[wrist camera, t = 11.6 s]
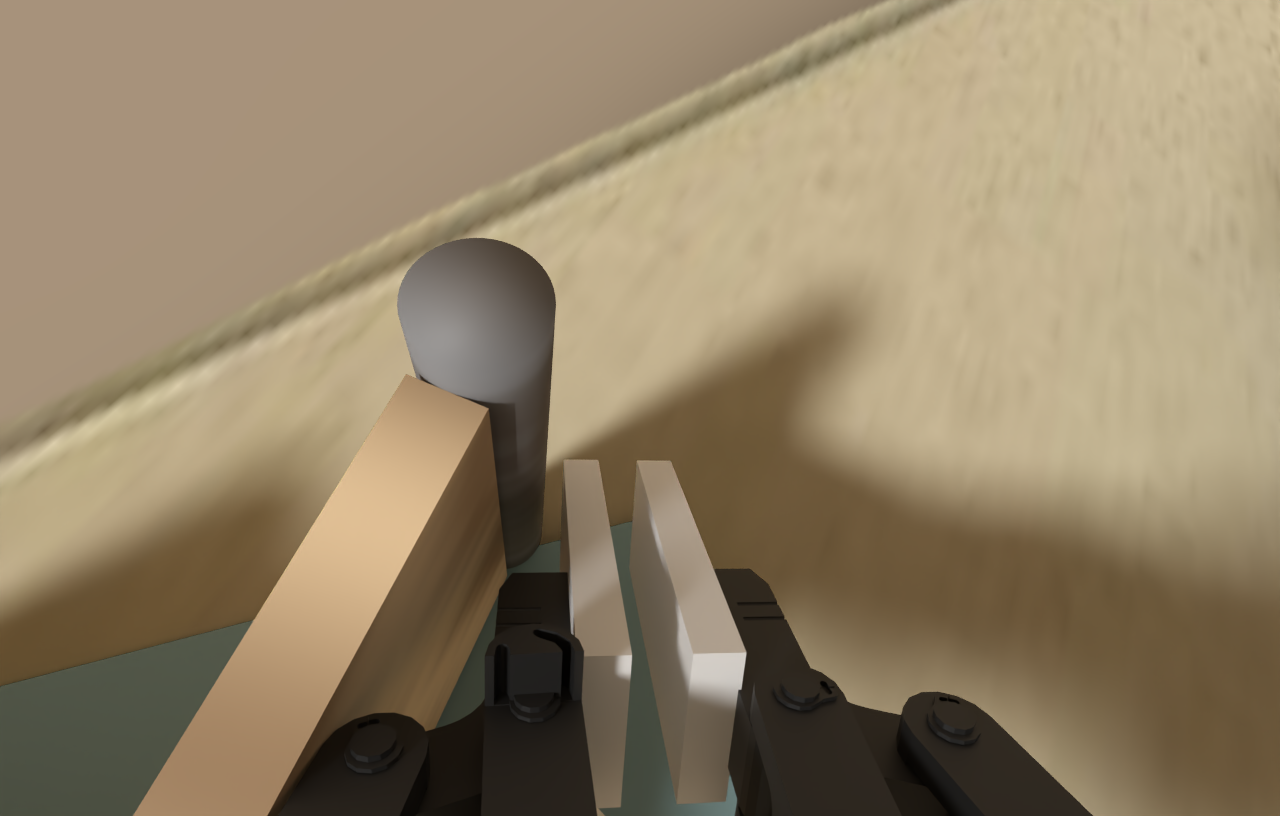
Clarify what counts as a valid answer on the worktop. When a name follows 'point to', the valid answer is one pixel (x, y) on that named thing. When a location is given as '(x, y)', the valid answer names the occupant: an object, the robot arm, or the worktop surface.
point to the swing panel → (392, 543)
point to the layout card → (181, 680)
